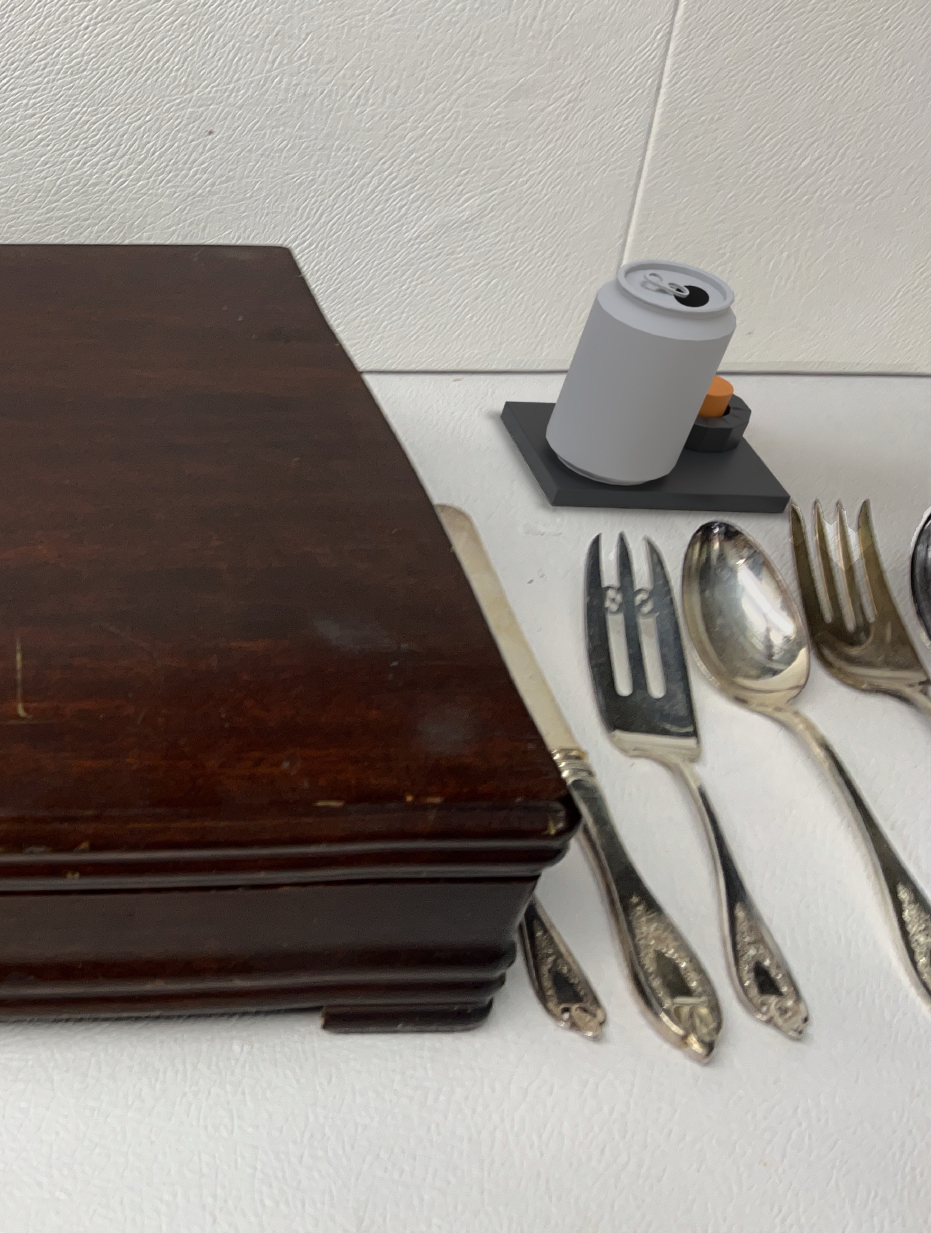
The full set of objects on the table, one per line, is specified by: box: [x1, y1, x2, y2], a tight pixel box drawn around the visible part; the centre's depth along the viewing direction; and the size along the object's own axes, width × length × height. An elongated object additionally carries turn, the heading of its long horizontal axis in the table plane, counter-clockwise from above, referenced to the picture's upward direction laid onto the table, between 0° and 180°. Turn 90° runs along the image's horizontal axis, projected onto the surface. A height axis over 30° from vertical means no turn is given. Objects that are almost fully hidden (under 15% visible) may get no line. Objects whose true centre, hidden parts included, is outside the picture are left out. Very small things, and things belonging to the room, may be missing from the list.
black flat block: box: [500, 393, 792, 513], centre depth 98 cm, size 14×10×3 cm
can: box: [546, 258, 737, 486], centre depth 93 cm, size 8×8×12 cm
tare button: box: [698, 374, 735, 418], centre depth 99 cm, size 3×3×2 cm
